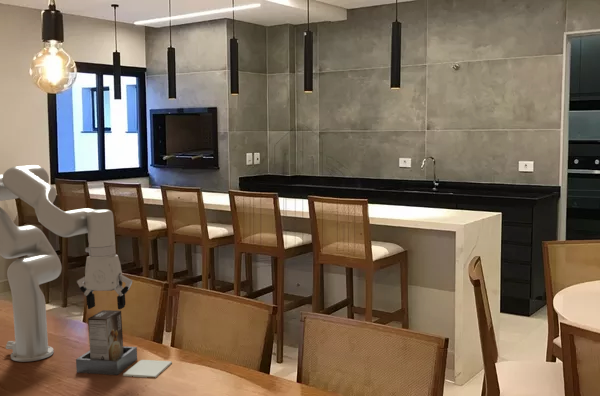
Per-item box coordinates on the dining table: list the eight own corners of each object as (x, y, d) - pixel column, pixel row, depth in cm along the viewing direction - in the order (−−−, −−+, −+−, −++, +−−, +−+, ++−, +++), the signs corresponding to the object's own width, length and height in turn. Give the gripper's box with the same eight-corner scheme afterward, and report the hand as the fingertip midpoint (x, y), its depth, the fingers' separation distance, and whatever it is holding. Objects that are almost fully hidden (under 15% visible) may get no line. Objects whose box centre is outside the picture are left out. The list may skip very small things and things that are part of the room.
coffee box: (105, 360, 204) (102, 309, 202) (124, 361, 202) (122, 310, 201) (90, 370, 195) (87, 317, 193) (110, 372, 193) (107, 318, 192)
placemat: (123, 376, 190) (123, 374, 190) (141, 361, 202) (141, 359, 202) (155, 378, 188) (155, 375, 188) (171, 363, 200) (171, 361, 200)
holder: (76, 372, 193) (75, 359, 193) (98, 357, 206) (97, 345, 206) (117, 375, 191) (116, 361, 190) (137, 359, 204) (136, 347, 203)
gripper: (69, 253, 193) (73, 311, 195) (123, 253, 189) (127, 311, 191) (82, 249, 200) (86, 304, 202) (135, 249, 197) (138, 305, 198)
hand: (106, 308), depth 196 cm, fingers open, 9 cm apart
